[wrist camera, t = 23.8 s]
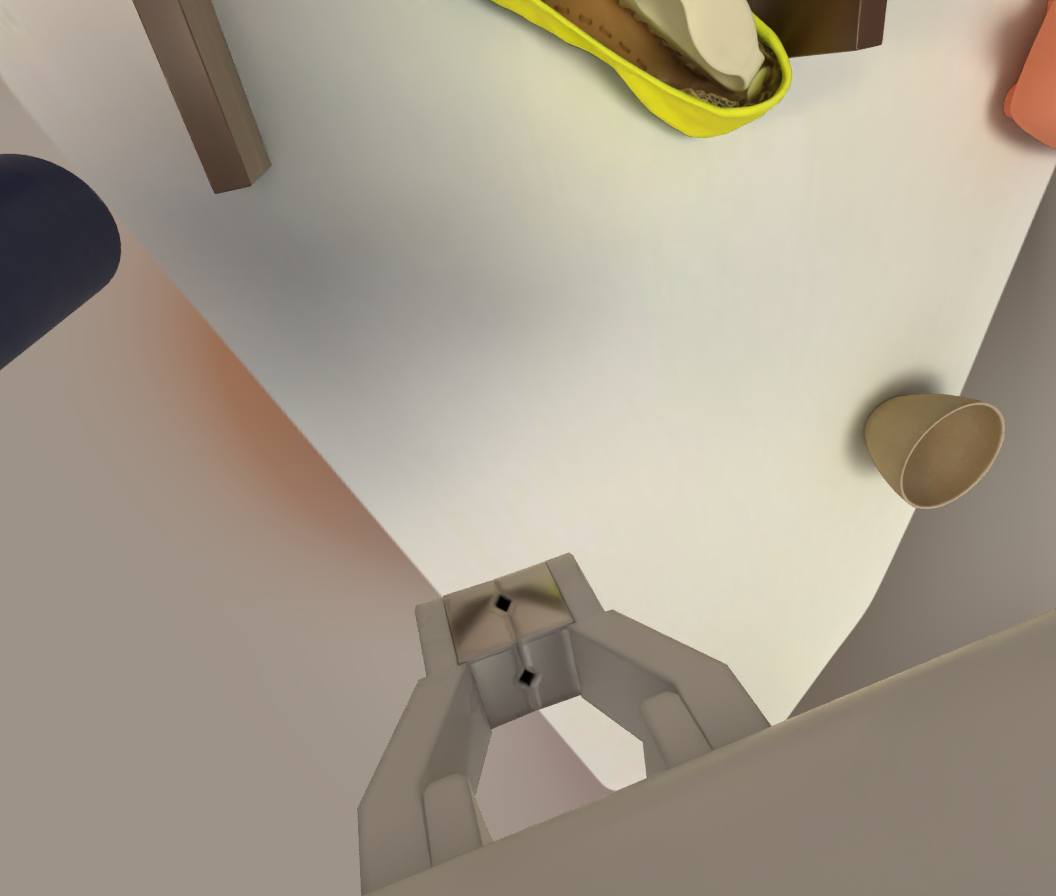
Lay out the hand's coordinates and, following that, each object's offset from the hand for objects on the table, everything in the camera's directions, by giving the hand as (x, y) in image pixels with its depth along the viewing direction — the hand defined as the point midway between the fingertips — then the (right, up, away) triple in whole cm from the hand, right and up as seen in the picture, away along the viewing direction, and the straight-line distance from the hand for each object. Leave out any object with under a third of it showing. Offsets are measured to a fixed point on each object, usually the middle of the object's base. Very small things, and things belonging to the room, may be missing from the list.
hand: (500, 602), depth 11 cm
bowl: (+34, +5, +45) cm, 56 cm away
